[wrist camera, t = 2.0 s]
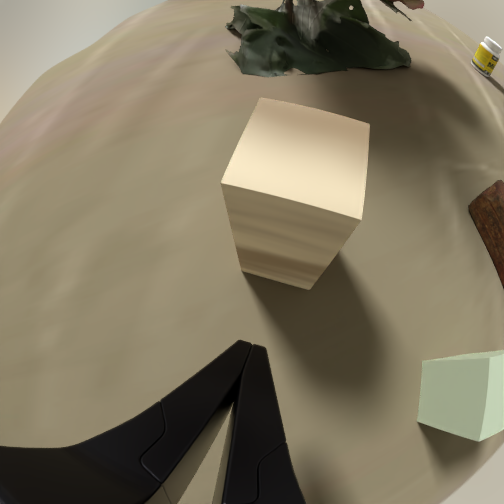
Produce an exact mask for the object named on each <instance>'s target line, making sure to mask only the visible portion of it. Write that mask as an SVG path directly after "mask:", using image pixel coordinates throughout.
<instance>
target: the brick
mask: <svg viewBox="0 0 504 504" xmlns="http://www.w3.org/2000/svg"><path fill="white" fill-rule="evenodd" d="M469 210H470V213H471V215H472V218H473V220H474V222H475V225H476V227H477V229H478V231H479V233H480V235H481V237H482V239H483V241H484V243H485V245H486V248H487V250H488V252H489V254H490V256H491V258H492V260H493V263H494V265H495V267H496V269H497V272H498V275H499V277H500V280H501V282H502V285H503V288H504V182H503V181H502V180H498V181H497V182H495V183H494V184H493V185H492V186H491V187H489V188H487V189H486V190H485V191H483V192H482V193H481V194H480V195H479V196H478V197H477V198H476V199H475V200H473V201H472V202H471V203H470V205H469Z"/></svg>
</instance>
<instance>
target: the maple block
mask: <svg viewBox="0 0 504 504" xmlns="http://www.w3.org/2000/svg"><path fill="white" fill-rule="evenodd" d="M369 130H370V124H368V123H365V122H361V121H358V120H355V119H352V118H348V117H345V116H341V115H338V114H334V113H331V112H327V111H323V110H319V109H315V108H311V107H307V106H302V105H298V104H293V103H288V102H283V101H278V100H273V99H267V98H261V97H260V99H259V101H258V103H257V105H256V107H255V109H254V111H253V113H252V115H251V118H250V120H249V122H248V124H247V126H246V128H245V130H244V132H243V134H242V136H241V139H240V141H239V143H238V145H237V147H236V149H235V152H234V154H233V156H232V158H231V161H230V163H229V165H228V167H227V169H226V172H225V174H224V176H223V179H222V181H221V186H222V191H223V195H224V199H225V204H226V208H227V212H228V216H229V221H230V225H231V229H232V233H233V237H234V242H235V246H236V250H237V254H238V258H239V262H240V266H241V271H243V272H247V273H250V274H254V275H257V276H261V277H264V278H268V279H271V280H275V281H278V282H282V283H285V284H289V285H292V286H296V287H300V288H303V289H307V290H310V289H311V287H312V286H313V285H314V284H315V282H316V281H317V280H318V278H319V277H320V276H321V275H322V273H323V272H324V271H325V269H326V268H327V267H328V265H329V264H330V263H331V261H332V260H333V259H334V257H335V256H336V255H337V253H338V252H339V251H340V249H341V248H342V246H343V245H344V244H345V242H346V241H347V240H348V238H349V237H350V235H351V234H352V233H353V231H354V230H355V228H356V227H357V226H358V224H359V223H360V221H361V219H362V212H363V204H364V195H365V186H366V175H367V163H368V149H369Z"/></svg>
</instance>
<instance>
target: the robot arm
mask: <svg viewBox="0 0 504 504" xmlns="http://www.w3.org/2000/svg"><path fill="white" fill-rule="evenodd" d="M233 402H234V403H233ZM232 405H233V406H232ZM231 407H232V410H231V415H230V420H229V425H228V430H227V434H226V439H225V444H224V449H223V454H222V459H221V463H220V468H219V473H218V478H217V482H216V487H215V492H214V496H213V501H212V504H306V502H305V499H304V497H303V494H302V492H301V489H300V487H299V484H298V481H297V478H296V475H295V473H294V470H293V466H292V462H291V458H290V454H289V450H288V445H287V443H286V437H285V433H284V428H283V423H282V419H281V414H280V410H279V405H278V400H277V396H276V391H275V387H274V382H273V377H272V373H271V368H270V363H269V359H268V354H267V350H266V348H265V347H263V346H260V345H256V344H253V345H252V344H251V343H250V342H246V341H243V340H238V341H237V342H235V343H234V344H233V345H232V346H230V347H229V348H228V349H227V350H225V351H224V352H223V353H222V354H220V355H219V356H218V357H217V358H215V359H214V360H213V361H212V362H210V363H209V364H208V365H206V366H205V367H204V368H203V369H201V370H200V371H199V372H197V373H196V374H195V375H193V376H192V377H191V378H189V379H188V380H187V381H185V382H184V383H183V384H181V385H180V386H179V387H177V388H176V389H175V390H173V391H172V392H171V393H169V394H168V395H166V396H165V397H164V398H162V399H161V400H160V401H158V402H156V403H155V404H154V405H152V406H151V407H149V408H148V409H146V410H145V411H143V412H142V413H140V414H139V415H137V416H135V417H134V418H132V419H130V420H128V421H126V422H124V423H123V424H121V425H119V426H117V427H115V428H112V429H110V430H108V431H106V432H104V433H102V434H100V435H97V436H95V437H93V438H91V439H88V440H86V441H84V442H81V443H79V444H75V445H72V446H68V447H61V448H23V447H7V446H0V504H177V503H178V502H179V500H180V498H181V497H182V495H183V494H184V492H185V490H186V489H187V487H188V485H189V483H190V482H191V480H192V478H193V477H194V475H195V473H196V472H197V470H198V468H199V466H200V465H201V463H202V461H203V459H204V458H205V456H206V454H207V452H208V450H209V449H210V447H211V445H212V443H213V441H214V440H215V438H216V436H217V434H218V432H219V430H220V429H221V427H222V425H223V423H224V421H225V419H226V417H227V415H228V414H229V411H230V409H231Z"/></svg>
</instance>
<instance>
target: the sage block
mask: <svg viewBox="0 0 504 504" xmlns="http://www.w3.org/2000/svg"><path fill="white" fill-rule="evenodd" d="M417 422H420V423H423V424H426V425H428V426H431V427H434V428H437V429H440V430H443V431H446V432H449V433H452V434H455V435H458V436H461V437H465V438H468V439H471V440H475V441H478V442H479V441H482V440H484V439H486V438H488V437H490V436H492V435H494V434H496V433H498V432H500V431H502V430H504V350H500V351H492V352H483V353H473V354H464V355H458V356H452V357H446V358H439V359H432V360H425V361H422V378H421V391H420V401H419V410H418V417H417Z"/></svg>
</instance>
